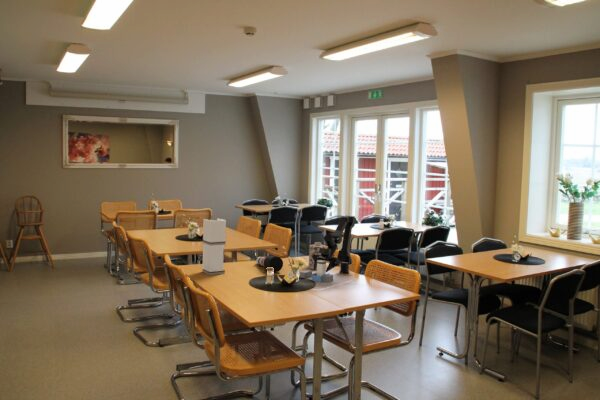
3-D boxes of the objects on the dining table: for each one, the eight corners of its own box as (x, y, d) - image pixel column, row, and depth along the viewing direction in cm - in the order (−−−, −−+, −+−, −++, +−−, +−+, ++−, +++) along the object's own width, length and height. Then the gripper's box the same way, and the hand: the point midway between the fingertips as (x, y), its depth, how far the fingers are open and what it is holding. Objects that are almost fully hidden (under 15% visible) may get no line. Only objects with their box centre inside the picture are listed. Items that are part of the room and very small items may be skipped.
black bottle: (260, 269, 372) (266, 256, 374) (279, 274, 341) (285, 260, 344) (248, 263, 368) (254, 251, 370) (266, 268, 338) (273, 254, 340)
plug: (316, 279, 320) (316, 260, 319) (320, 278, 323) (320, 259, 322) (321, 280, 317) (322, 261, 317) (325, 279, 321) (326, 260, 320)
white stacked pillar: (224, 273, 334) (225, 220, 331) (209, 275, 328) (210, 220, 325) (217, 270, 343) (218, 218, 341) (202, 271, 337) (203, 218, 335)
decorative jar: (325, 269, 357) (326, 244, 356) (308, 268, 358) (309, 243, 356) (324, 266, 369) (325, 241, 368) (308, 265, 369) (309, 240, 368)
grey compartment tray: (298, 279, 324) (299, 271, 324) (307, 276, 332) (307, 269, 331) (324, 284, 312) (325, 276, 312) (333, 282, 320) (333, 274, 319)
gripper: (313, 241, 327) (302, 260, 319) (338, 244, 316) (327, 265, 308) (320, 252, 334) (309, 271, 326) (344, 255, 323) (334, 275, 315)
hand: (320, 270), depth 319 cm, fingers open, 9 cm apart
